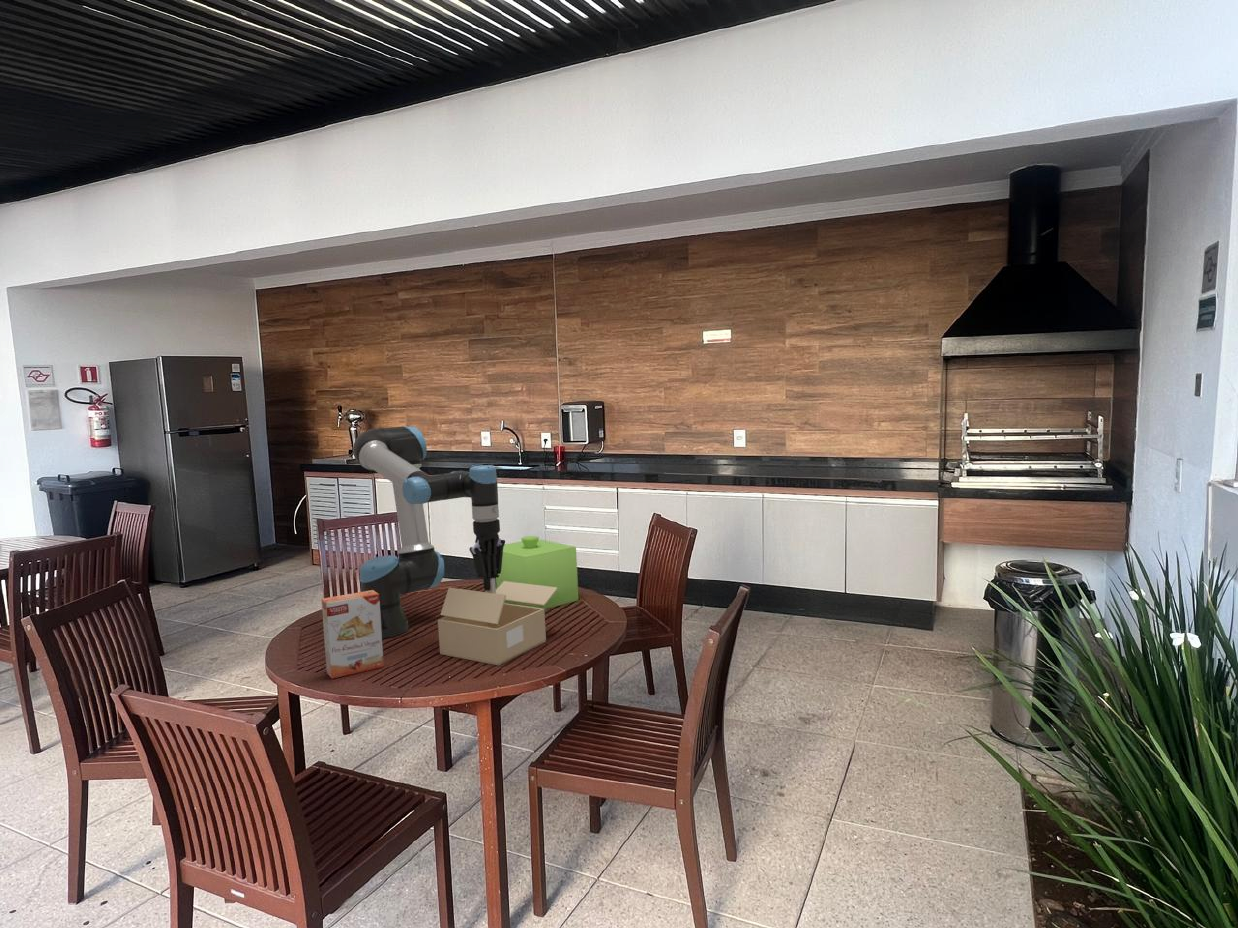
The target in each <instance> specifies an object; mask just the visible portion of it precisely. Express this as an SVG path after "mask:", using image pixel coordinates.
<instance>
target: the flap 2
mask: <svg viewBox="0 0 1238 928" xmlns="http://www.w3.org/2000/svg"><path fill="white" fill-rule="evenodd" d="M557 590H558V588H557V587H549V586H541V585H532V584H524V583H516V582H507V581H504V582H503V583H502V584H501V585H500V586H499V587H498V588H497V589H496V594H502V595H506V598H505V601H511V602H518V603H525V604H533V605H540V606H545V605H546V603H547V602H548V601H549V600H550V598H551V597H552V596H553V595H554V593H555V592H556V591H557Z"/></svg>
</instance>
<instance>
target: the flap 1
mask: <svg viewBox="0 0 1238 928" xmlns="http://www.w3.org/2000/svg"><path fill="white" fill-rule="evenodd" d="M445 595H446V596H445V598H444V602H443V604H442V608H441V611H440V615H441V616H444V617H447V616H450V617H456V618H462V619H469V620H475V621H481V622H487V623H493V624H498V623H499V619H500V616H501V612H502V608H503V605H504V601H505V598H506V595H502V594H494V593H487V592H485V591H478V590H470V589H463V588H458V587H457V588H454V587H448V589H447V592H446V594H445Z"/></svg>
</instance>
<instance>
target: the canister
mask: <svg viewBox="0 0 1238 928" xmlns="http://www.w3.org/2000/svg"><path fill="white" fill-rule="evenodd" d="M577 560H578V559H577V547H576V546H573V545H568V544H564V543H560V542H559V543H558V542H554V541H550V540H549V541H548V540H543V539H540V538H539V536H537V535H526V536H523V537H522V538H521V541H516V542H511V543H505V545H504V547H503V556H502V567H501V573H500V574H498V575H499V577H498V578H496V589H497V588H498V587H499V586H500V585H501V584H502V583H503V582H504V581H507V582H516V583H524V584H532V585H541V586H549V587H557V588H558V590H557V591H556V592H555V593H554V595H553V596H552V597H551V598H550V600H549V601H548V602H547V603H546V605H545V606H540V605H533V604H525V603H518V602H511V601H504V603H506V604H513V605H520V606H527V607H535V608H542V609H544V611H545V610H548V609H551V608H554V607H559V606H563V605H566V604H571V603H573V602H574V603H575V602H578V601H579V600H580V599H579V584H578V583H579V579H578V562H577Z"/></svg>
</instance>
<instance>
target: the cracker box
mask: <svg viewBox="0 0 1238 928" xmlns="http://www.w3.org/2000/svg"><path fill="white" fill-rule="evenodd" d="M321 609H322V613H321V614H322V625H323V639H324V640H323V641H324V653H325V665H326V666H325V667H326V674H327V675H328V676H329V678H330V679H332V680H333V679H337V678H342V677H345V676H350V675H353V674H359V673H363V672H368V671H372V670H376V669H379V668H384V649H383V648H384V647H383V639H382V631H381V615H380V600H379V594H378V593H377V592H375V591H374V590H369V591H364V592H361V591H360V592H353V593H347V594H342V595H335V596H328V597H325V598H321Z"/></svg>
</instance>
